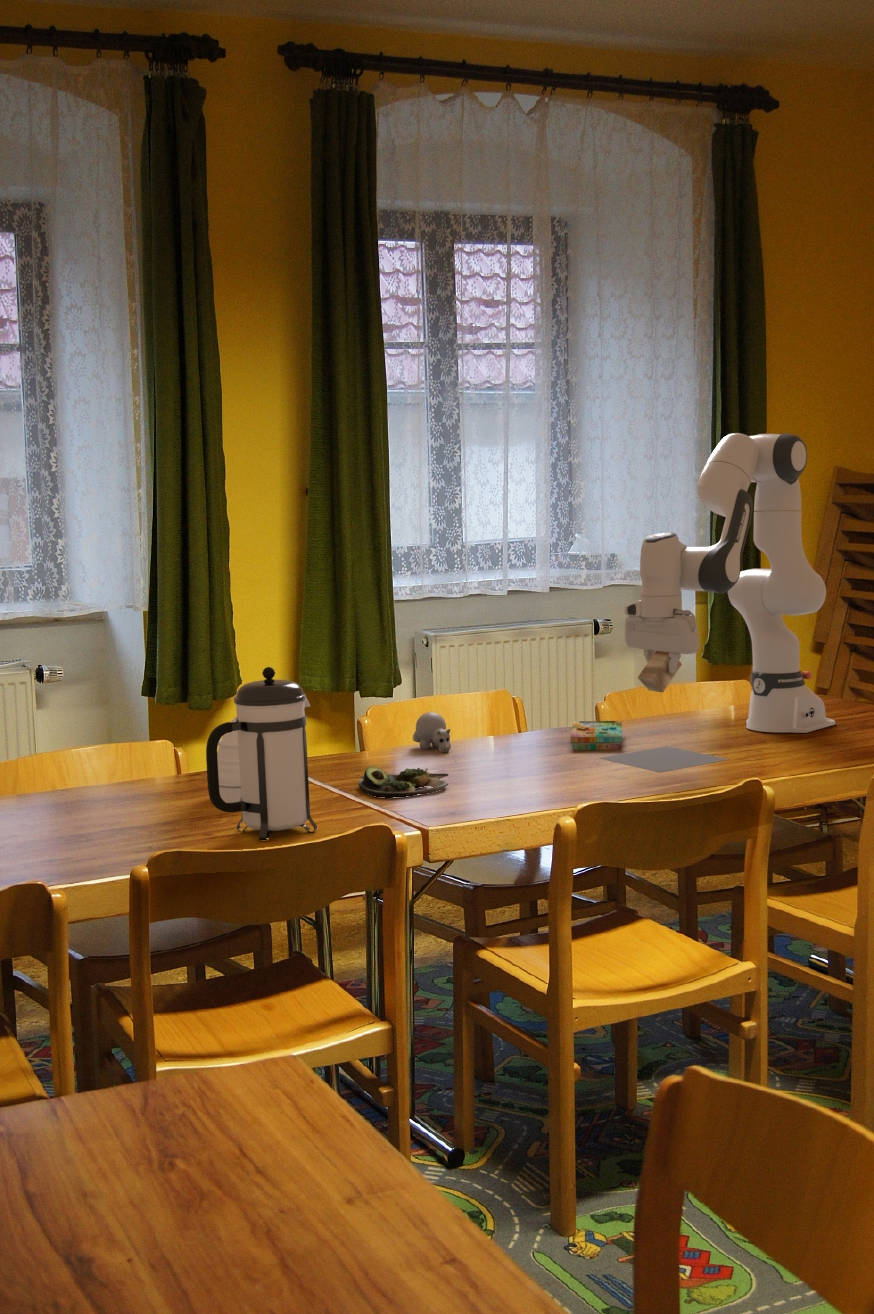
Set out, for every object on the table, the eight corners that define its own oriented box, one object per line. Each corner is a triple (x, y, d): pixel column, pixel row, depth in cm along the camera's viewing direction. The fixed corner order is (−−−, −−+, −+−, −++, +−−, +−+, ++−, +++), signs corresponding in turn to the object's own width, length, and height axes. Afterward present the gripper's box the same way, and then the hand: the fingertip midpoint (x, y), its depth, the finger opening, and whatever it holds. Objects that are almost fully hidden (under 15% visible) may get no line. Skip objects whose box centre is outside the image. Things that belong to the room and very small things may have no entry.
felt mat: (666, 747, 297) (666, 746, 297) (729, 760, 281) (729, 759, 281) (598, 759, 287) (598, 758, 287) (660, 773, 270) (660, 772, 270)
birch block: (651, 679, 277) (670, 651, 279) (637, 677, 281) (656, 649, 283) (662, 692, 279) (682, 664, 281) (648, 690, 283) (667, 662, 285)
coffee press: (251, 819, 243) (242, 661, 240) (330, 822, 239) (322, 661, 235) (209, 843, 227) (199, 674, 223) (293, 847, 222) (284, 675, 218)
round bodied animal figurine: (431, 765, 300) (436, 734, 296) (407, 739, 309) (412, 708, 305) (458, 760, 303) (463, 729, 300) (433, 735, 312) (438, 704, 309)
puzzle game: (570, 733, 296) (572, 718, 315) (570, 753, 296) (573, 737, 316) (622, 732, 294) (621, 717, 314) (622, 752, 295) (621, 736, 314)
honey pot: (287, 792, 265) (283, 705, 263) (254, 806, 254) (249, 716, 251) (234, 788, 270) (229, 703, 268) (199, 802, 259) (194, 713, 257)
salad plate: (432, 775, 278) (432, 754, 277) (468, 791, 262) (468, 769, 261) (348, 786, 270) (347, 764, 269) (380, 803, 254) (379, 780, 253)
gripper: (705, 609, 273) (706, 674, 274) (641, 604, 290) (642, 665, 291) (683, 611, 269) (684, 677, 271) (619, 606, 286) (620, 668, 288)
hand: (662, 671), depth 281 cm, fingers closed on birch block, 4 cm apart
